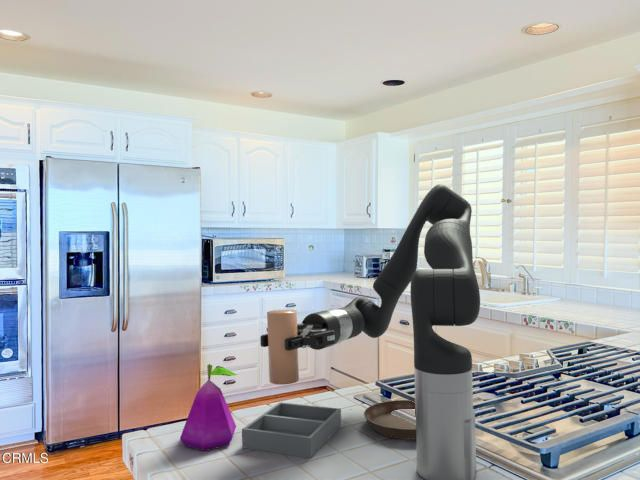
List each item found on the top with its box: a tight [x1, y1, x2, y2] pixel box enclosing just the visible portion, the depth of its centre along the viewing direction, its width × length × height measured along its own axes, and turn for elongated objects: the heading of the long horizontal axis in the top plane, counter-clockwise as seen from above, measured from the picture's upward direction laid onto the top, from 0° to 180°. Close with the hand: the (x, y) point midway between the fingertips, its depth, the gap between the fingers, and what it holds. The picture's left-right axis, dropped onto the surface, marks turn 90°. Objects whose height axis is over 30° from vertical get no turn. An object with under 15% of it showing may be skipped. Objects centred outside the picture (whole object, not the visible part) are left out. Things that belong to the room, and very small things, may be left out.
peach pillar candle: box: [266, 309, 300, 386], centre depth 96 cm, size 6×6×13 cm
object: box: [363, 399, 416, 440], centre depth 103 cm, size 18×18×3 cm
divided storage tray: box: [241, 401, 342, 459], centre depth 99 cm, size 14×16×4 cm
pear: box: [179, 363, 238, 452], centre depth 98 cm, size 11×11×15 cm
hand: (274, 343), depth 94 cm, fingers closed on peach pillar candle, 5 cm apart
